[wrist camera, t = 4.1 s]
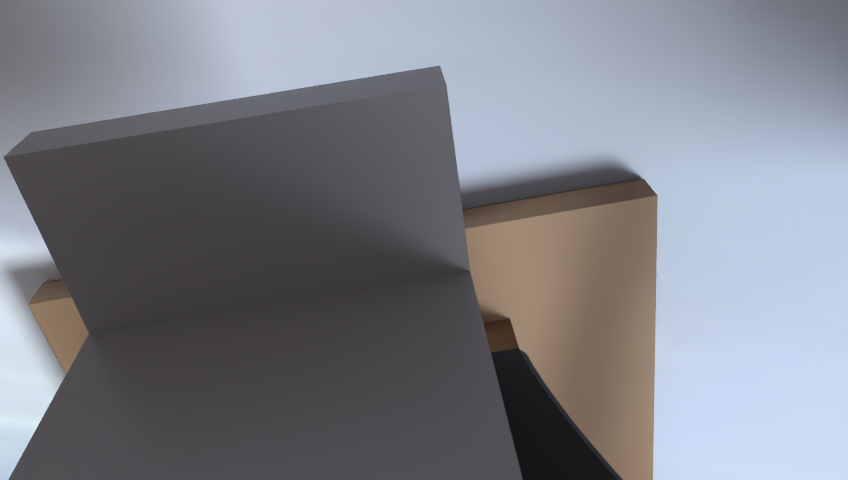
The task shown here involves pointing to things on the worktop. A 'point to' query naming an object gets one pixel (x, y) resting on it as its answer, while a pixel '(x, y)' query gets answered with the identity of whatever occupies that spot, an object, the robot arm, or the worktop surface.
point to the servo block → (267, 292)
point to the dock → (541, 306)
